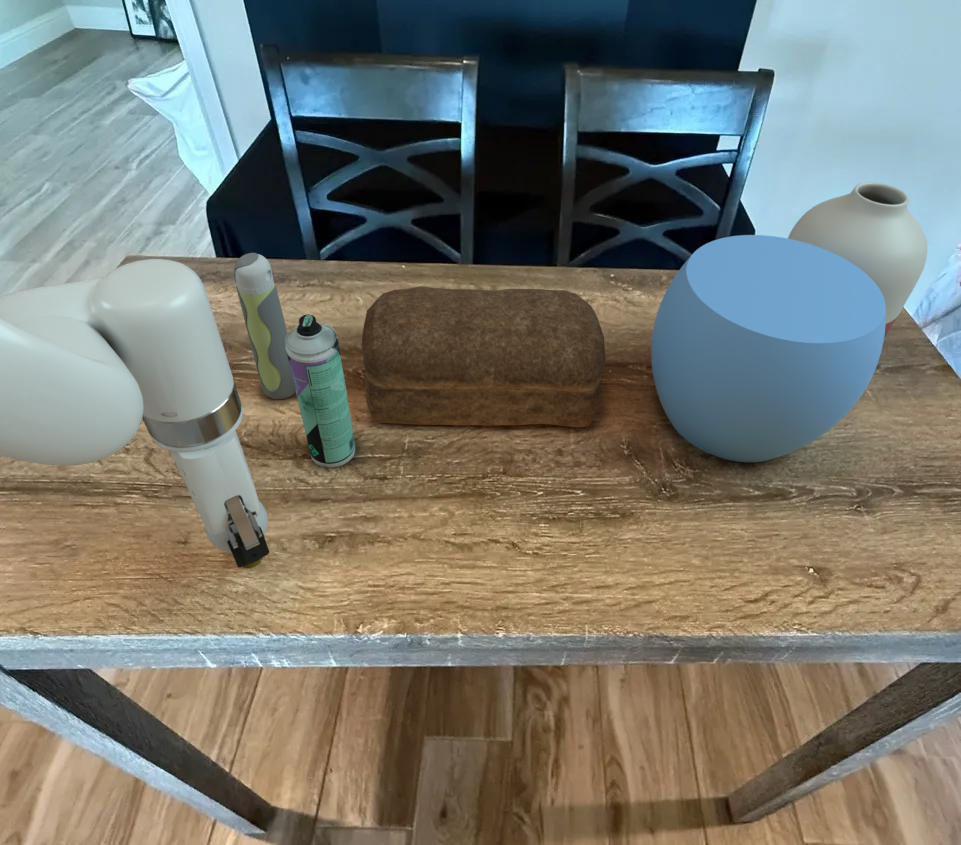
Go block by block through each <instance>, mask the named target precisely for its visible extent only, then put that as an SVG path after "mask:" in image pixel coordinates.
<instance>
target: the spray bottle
mask: <svg viewBox="0 0 961 845" xmlns="http://www.w3.org/2000/svg"><path fill="white" fill-rule="evenodd" d="M233 278H234V283H235V284H236V287H235V288H236V293H237V296H238V299H239V303H240V307H241V311H242V315H243V320H244V324H245V327H246V331H247V335H248V339H249V343H250V346H251V351H252V354H253V358H254V364H255V367H256V370H257V375H258V378H259V382H260V386H261V390H262V392H263V394H264V395H265V396H266V397H268V398H270V399H273V400H283V399H288V398H290V397H292V396H293V395H296V391H295V386H294V382H293V378H292V373H291V369H290V365H289V360H288V356H287V352H286V343H285V338H286V336H287V334H288V330H287V325H286V322H285V317H284V313H283V310H282V305H281V301H280V297H279V293H278V288H277V286H276V285H275V280H274V274H273V271H272V267H271V264H270V261H269V260H268V259H267V257H265V256H263V255H262V254H260V253H256V252H249V253H245V254H243V255H242V256H240V257H239V258H238V259H237V260H236V262H235V265H234V268H233Z"/></svg>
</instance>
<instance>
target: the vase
mask: <svg viewBox="0 0 961 845" xmlns="http://www.w3.org/2000/svg"><path fill="white" fill-rule="evenodd" d="M909 201H910V199H909V196H908V195H907V194H906V193H905V192H904V191H903V190H902V189H899V188H898V187H895V186H893V185H890V184H887V183H882V182H874V181H867V182H865V181H864V182H860V183H858V184H856V185H855V186H854V187H853V189H852V190H851V191H850V192H849V193H847V194H843V195H840V196H836V197H832V198H830V199H826V200H824V201H822V202H820V203H818V204H816V205H814V206H812V207H810V209H808V210H807V211H806V212H805V213H803V215H802V216H801V217H800V218H799V219H798V221H797V222H796V223H795V224H794V226H793V227H792V229H791V231H790V232H789V235H788V236H787V239H792V240H796V241H800V242H804V243H808V244H811V245H814V246H817V247H820V248H822V249H825V250H827V251H830V252H832V253H834V254H836V255H838V256H840V257H842V258H844V259H846V260H847V261H849V262H851V263H852V264H854V265H855V266H857V267H858V268H860V269H861V270H862V271H863V272H865V273H866V274H867V275H868V276H869V277H870V278H871V279H872V280H873V281H874V282H875V283H876V285H877V286H878V288H879V289H880V291H881V293H882V295H883V297H884V300H885V307H886V324H885V335H884V340H885V339H886V337H887V336H888V334H889V332H890V331H891V329H892V328H893V325H894V324H895V322H896V320H897V319H898V317H899V315H900V313H901V312H902V310H903V309H904V306H906V303H907V301H908V300H909V298H910V296H911V295H912V293H913V291H914V289H915V287H916V285H917V284H918V281H919V280H920V278H921V275H922V273H923V271H924V269H925V266H926V262H927V258H928V257H927V256H928V241H927V237H926V234H925V232H924V230H923V228H922V226H921V225H920V222H918V220H917V219H916V218H915V217H914V215H913V214H912V213H911V212H910V211H909V209H908V205H909Z"/></svg>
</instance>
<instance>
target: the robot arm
mask: <svg viewBox="0 0 961 845" xmlns="http://www.w3.org/2000/svg"><path fill="white" fill-rule="evenodd" d="M230 366H231V365H230V363H229V359H228V356H227V355H226V351H225V346H224V344H223V340H222V338H221V335H220V331H219V328H218V325H217V322H216V319H215V316H214V312H213V309H212V306H211V302H210V299H209V296H208V292H207V290H206V288H205V285H204V282H203V281H202V279H201V278H200V276H199V275H198V274H197V273H196V272H195V271H194V270H193V269H192V268H191V267H189V266H188V265H186V264H184V263H182V262H178V261H175V260H170V259H165V258H149V259H140V260H135V261H131V262H128V263H126V264H122V265H120V266H119V267H116V268H115V269H113V270H111V271H109V272H108V273H107V274H105V275H104V276H101V277H95V278H90V279H85V280H84V279H83V280H80V281H79V280H78V281H72V282H67V283H59V284H53V285H47V286H46V285H45V286H39V287H32V288H28V289H22V290H17V291H13V292H10V293H6V294H3V295H1V296H0V456H2V457H6V458H9V459H14V460H18V461H23V462H28V463H33V464H37V465H43V466H44V465H45V466H59V467H69V466H71V467H73V466H82V465H86V464H88V465H89V464H92V463H96V462H100V461H102V460H105V459H107V458H109V457H111V456H113V455H115V454H117V453H119V451H120V450H122V449H123V448H125V447H126V446H127V445H128V444H129V443H130V442H131V441H132V440H133V438H134V437H135V435H136V434H137V432H138V431H139V429H140V426H141V424H142V421H143V423H144V425H145V427H146V429H147V431H148V435H149V437H150V438H151V440H152V442H154V443H155V444H156V445H157V446H159V447H160V448H162V449H164V450H168V451H170V453H171V455H172V458H173V461H174V462H175V465H176V467H177V469H178V471H179V474H180V476H181V478H182V481H183V483H184V485H185V487H186V489H187V491H188V494H189V496H190V498H191V500H192V502H193V504H194V506H195V508H196V511H197V513H198V514H199V517H200V519H201V521H202V523H203V525H205V527H206V529H207V531H208V532H209V533H210V534H212V535H218V534H220V533H223V532H225V530H226V533H227V535H228V537H229V541H227V543H228V545H229V548H230V550H231V552H232V554H231V555H232V557H233V559H234V562H235V564H236V566H237V568H240V569H241V568H243V566H246V565H248V564H251V563H254V562H256V561H258V560H259V559H261V558H262V557H263V558H265V557H266V556H268V555H269V554H270V549H269V547H268V546H269V545H268V543H267V541H266V538H265V535H264V534H263V532H262V529H261V527H260V526H258V524H257V521H256V519H255V516H254V515H256V516H257V517H258V515H259V513H260V510H261V508H260V503H259V501H260V500H259V496H258V494H257V490H256V486H255V483H254V481H253V477H252V475H251V474H252V473H251V471H250V468H249V465H248V462H247V458H246V456H245V453H244V451H243V450H244V449H243V446H242V444H241V442H240V438H239V436H238V433H237V429H238V428H239V426H240V424H241V422H242V420H243V417H244V408H243V405H242V401H241V399H240V394H239V393H238V388H237V384H236V382H235V379H234V376H233V372H232V370H231V367H230ZM243 506H245V507H243ZM228 511H229V513H230V514H228ZM233 524H235V527H236V529H237V531H238V532H237V533H235V534H234V533H233V530H232V528H231V525H233ZM205 527H204V528H205ZM263 558H262V559H263Z"/></svg>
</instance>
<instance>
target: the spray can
mask: <svg viewBox="0 0 961 845" xmlns="http://www.w3.org/2000/svg"><path fill="white" fill-rule="evenodd" d="M285 343H286V352H287V356H288V360H289V365H290V369H291V373H292V378H293V382H294V386H295V391H296V393H295V395H296V397H297V398H296V399H297V404H298V407H299V411H300V416H301V420H302V424H303V430H304V434H305V439H306V442H307V446H308V450H309V455H310V457H311V460H312V461H313V463H315V464H316V465H318V466H320V467H323V468H330V469H331V468H338V467H341V466H343V465H345V464H347V463H348V462H349V461H351V460H352V459H353V457H354V456H355V454H356V442H355V437H354V430H353V424H352V418H351V411H350V406H349V405H350V404H349V400H348V392H347V387H346V381H345V380H346V379H345V374H344V368H343V362H342V355H341V349H340V344H339V343H340V342H339V339H338V336H337V332H336V330H335V329H334V328H333V327H332V326H330V325H328V324H326V323H321V322H319V321H317V319H316V317H315V315H313V314H303V315H301V316H300V317H299V318H298V325H297V326H295V327H293V328H292V329H291V330H290V331H289V332H287V336H286V338H285Z"/></svg>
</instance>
